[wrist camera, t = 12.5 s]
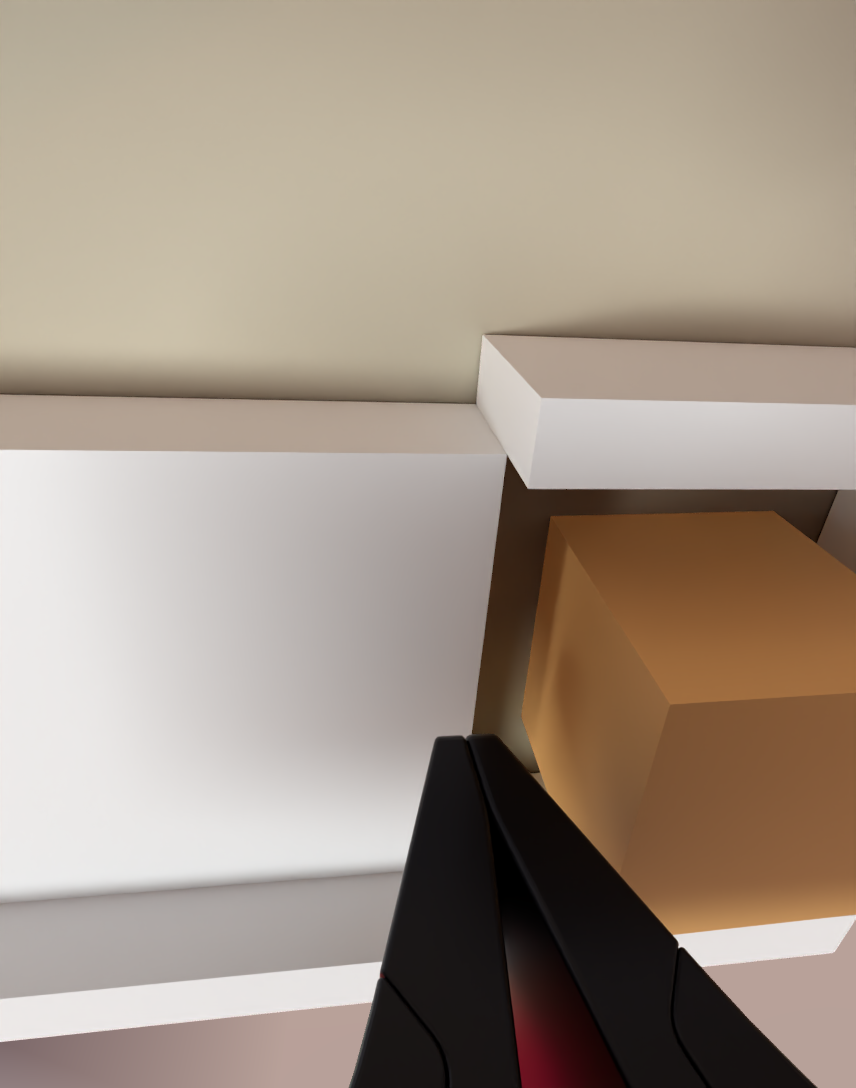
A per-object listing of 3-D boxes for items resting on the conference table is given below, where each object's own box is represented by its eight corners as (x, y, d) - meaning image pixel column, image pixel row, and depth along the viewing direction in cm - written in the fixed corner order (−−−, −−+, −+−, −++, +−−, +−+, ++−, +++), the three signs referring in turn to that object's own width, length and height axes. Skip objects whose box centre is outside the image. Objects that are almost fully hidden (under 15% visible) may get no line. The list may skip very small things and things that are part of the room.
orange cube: (670, 705, 7) (998, 683, 7) (549, 514, 11) (771, 509, 11) (599, 942, 9) (856, 914, 10) (520, 714, 13) (707, 702, 13)
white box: (-339, 305, 8) (-775, 389, 5) (964, 351, 10) (1231, 426, 7) (-68, 851, 13) (-194, 1062, 10) (761, 794, 15) (867, 948, 12)
